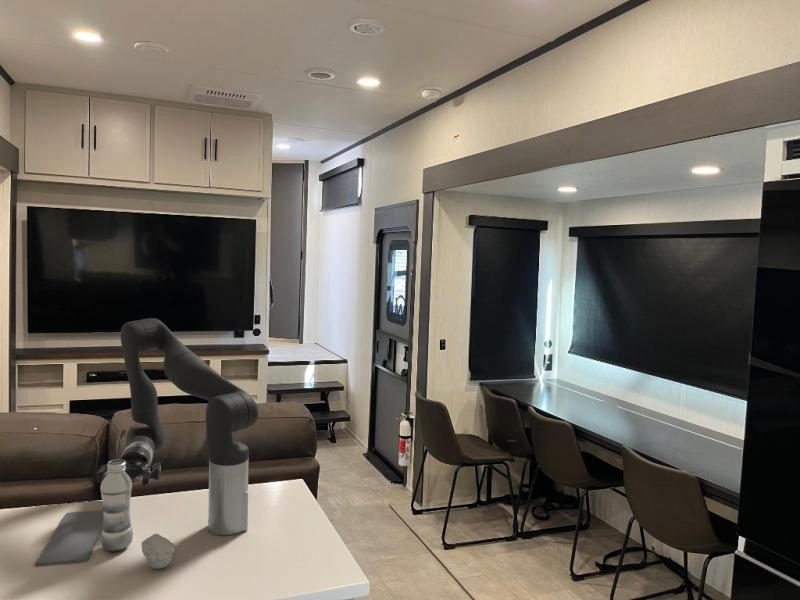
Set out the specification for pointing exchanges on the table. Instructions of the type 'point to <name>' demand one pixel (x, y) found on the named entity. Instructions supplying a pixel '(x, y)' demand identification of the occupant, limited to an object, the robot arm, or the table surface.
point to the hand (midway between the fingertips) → (124, 483)
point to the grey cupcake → (158, 551)
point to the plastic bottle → (116, 507)
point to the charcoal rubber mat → (73, 538)
